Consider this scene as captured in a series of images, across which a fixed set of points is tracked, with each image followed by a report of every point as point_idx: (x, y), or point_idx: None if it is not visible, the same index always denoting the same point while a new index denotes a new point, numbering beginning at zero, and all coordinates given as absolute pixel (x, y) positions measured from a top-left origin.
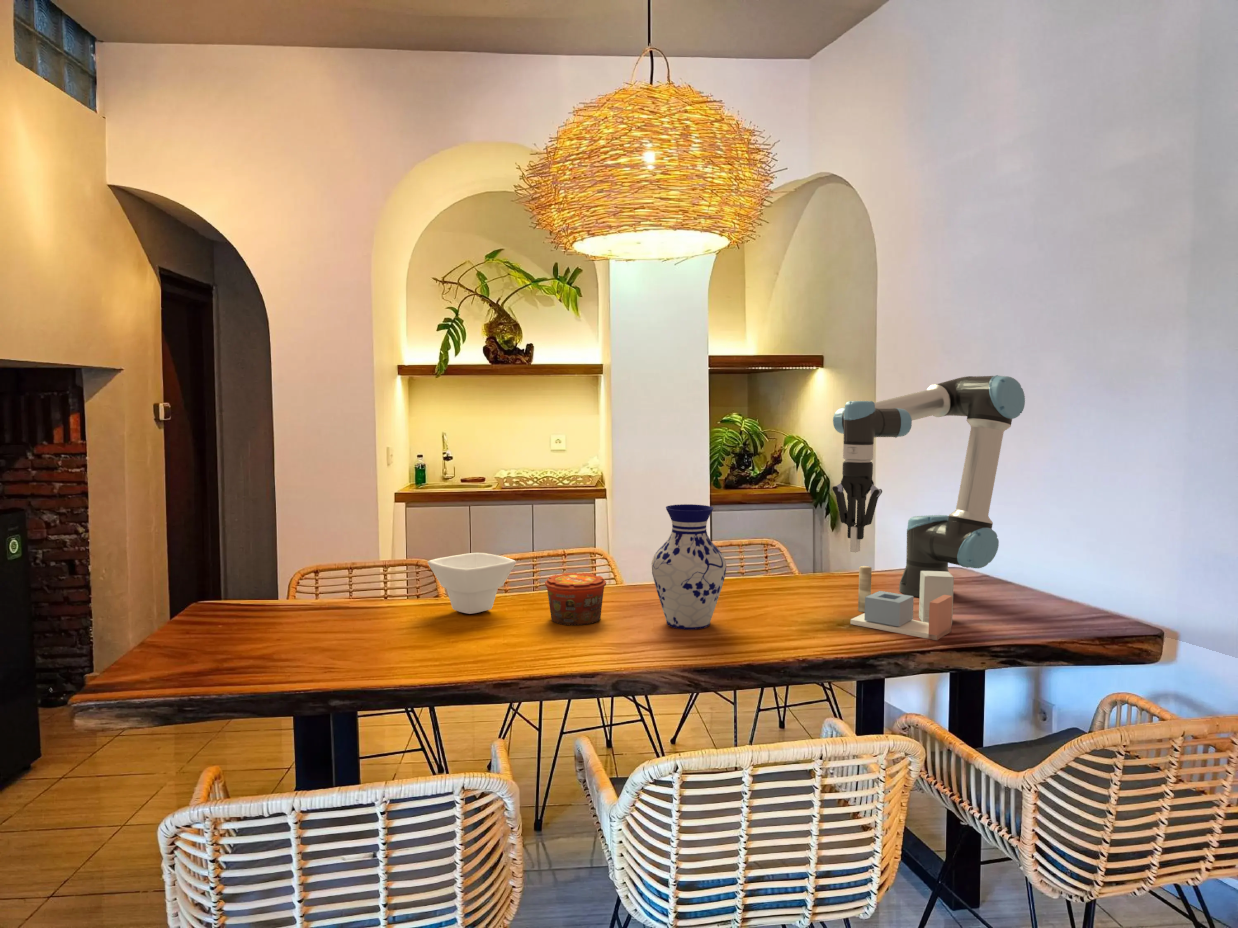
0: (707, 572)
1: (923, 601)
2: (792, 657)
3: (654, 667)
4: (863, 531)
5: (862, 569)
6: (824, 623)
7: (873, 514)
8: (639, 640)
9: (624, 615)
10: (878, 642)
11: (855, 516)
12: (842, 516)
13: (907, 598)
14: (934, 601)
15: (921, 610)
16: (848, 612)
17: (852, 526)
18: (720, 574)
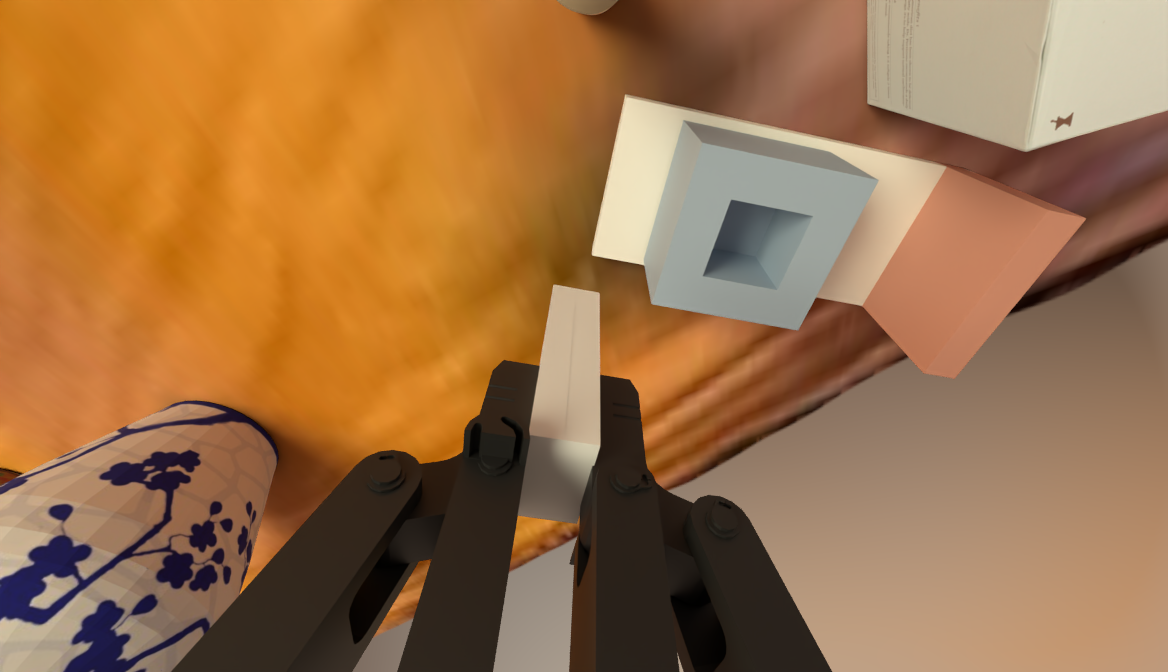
0: None
1: (922, 113)
2: (551, 532)
3: (388, 620)
4: (640, 438)
5: (575, 10)
6: (512, 281)
7: (818, 660)
8: (257, 552)
9: (47, 444)
10: (705, 388)
11: (511, 553)
12: (363, 607)
13: (839, 243)
14: (948, 356)
15: (891, 65)
16: (535, 63)
17: (521, 493)
18: (224, 599)
